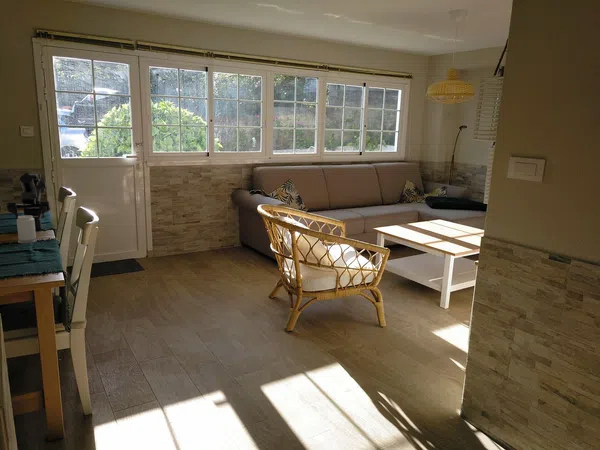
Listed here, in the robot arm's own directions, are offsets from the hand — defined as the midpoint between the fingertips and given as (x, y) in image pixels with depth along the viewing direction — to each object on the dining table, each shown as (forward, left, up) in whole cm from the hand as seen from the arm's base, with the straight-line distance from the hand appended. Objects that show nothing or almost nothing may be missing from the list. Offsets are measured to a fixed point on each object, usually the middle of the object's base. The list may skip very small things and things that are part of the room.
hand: (28, 220), depth 229 cm
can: (+7, 0, -8) cm, 11 cm away
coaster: (+8, 0, -9) cm, 12 cm away
